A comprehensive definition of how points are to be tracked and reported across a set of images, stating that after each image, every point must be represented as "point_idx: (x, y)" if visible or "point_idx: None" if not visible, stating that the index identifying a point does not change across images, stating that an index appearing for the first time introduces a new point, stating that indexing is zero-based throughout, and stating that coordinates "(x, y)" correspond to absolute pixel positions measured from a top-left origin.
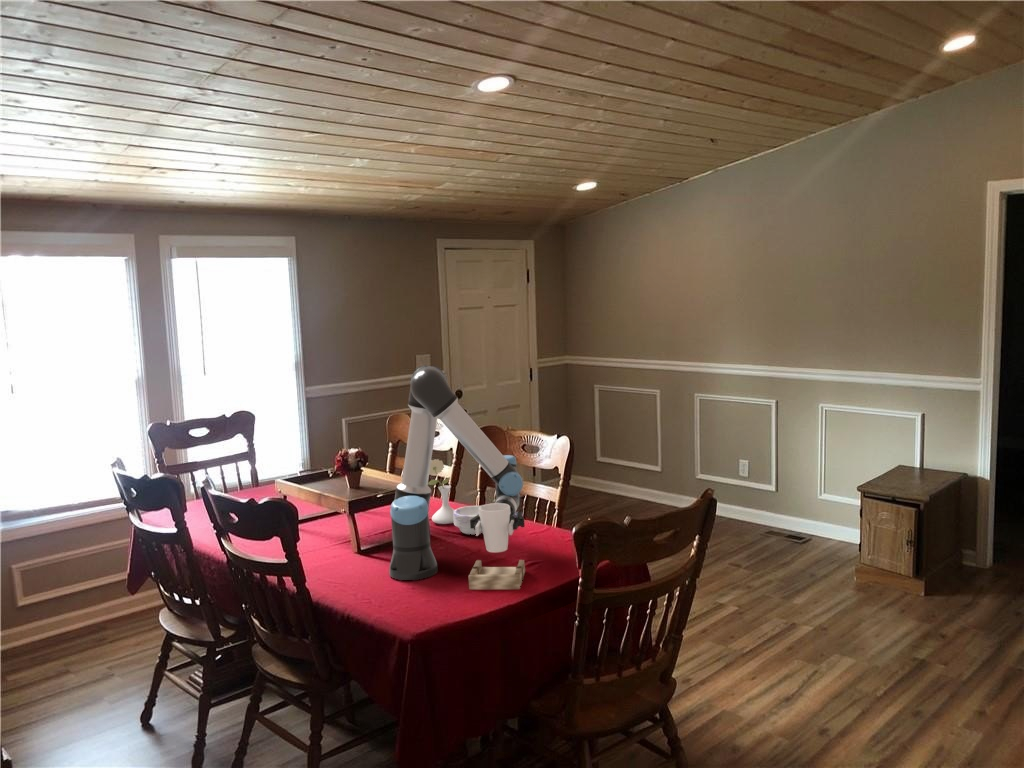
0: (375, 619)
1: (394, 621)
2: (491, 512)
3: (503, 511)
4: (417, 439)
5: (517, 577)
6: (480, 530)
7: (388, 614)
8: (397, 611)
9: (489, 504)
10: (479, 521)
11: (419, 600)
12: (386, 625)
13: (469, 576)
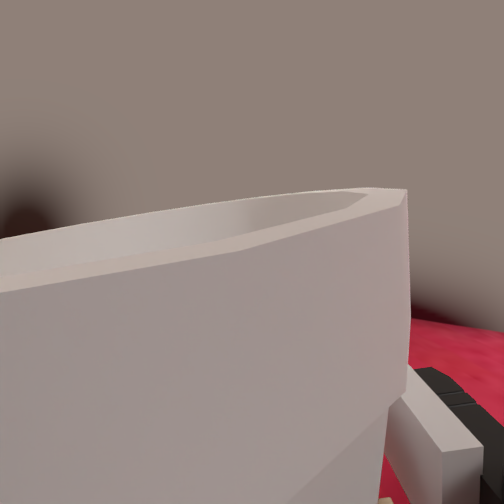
0: (477, 330)
1: (429, 332)
2: (202, 213)
3: (96, 235)
4: None
5: None
6: (388, 453)
7: (477, 346)
8: (473, 359)
9: (271, 237)
10: (431, 411)
11: (492, 416)
12: (428, 321)
13: (385, 499)
